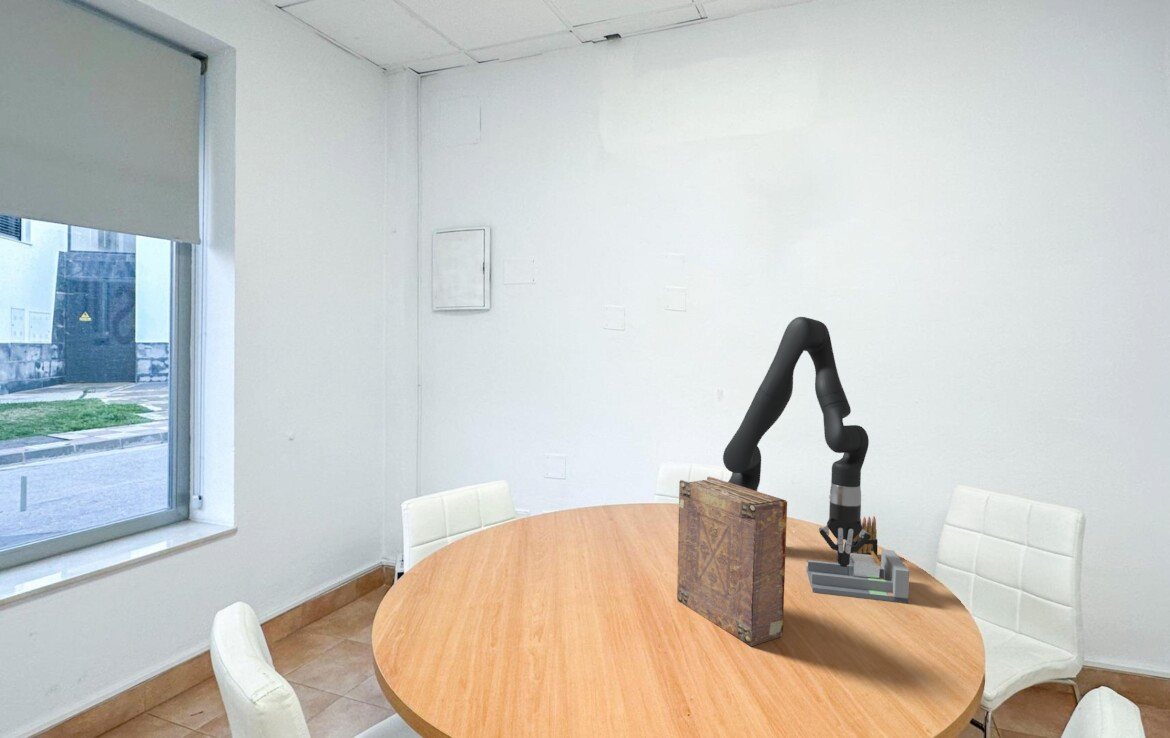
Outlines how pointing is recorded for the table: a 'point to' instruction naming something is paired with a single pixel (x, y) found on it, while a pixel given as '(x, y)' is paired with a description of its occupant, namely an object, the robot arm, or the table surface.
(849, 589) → the base
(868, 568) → the plunger
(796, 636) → the table surface
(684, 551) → the book
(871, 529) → the ammunition clip
